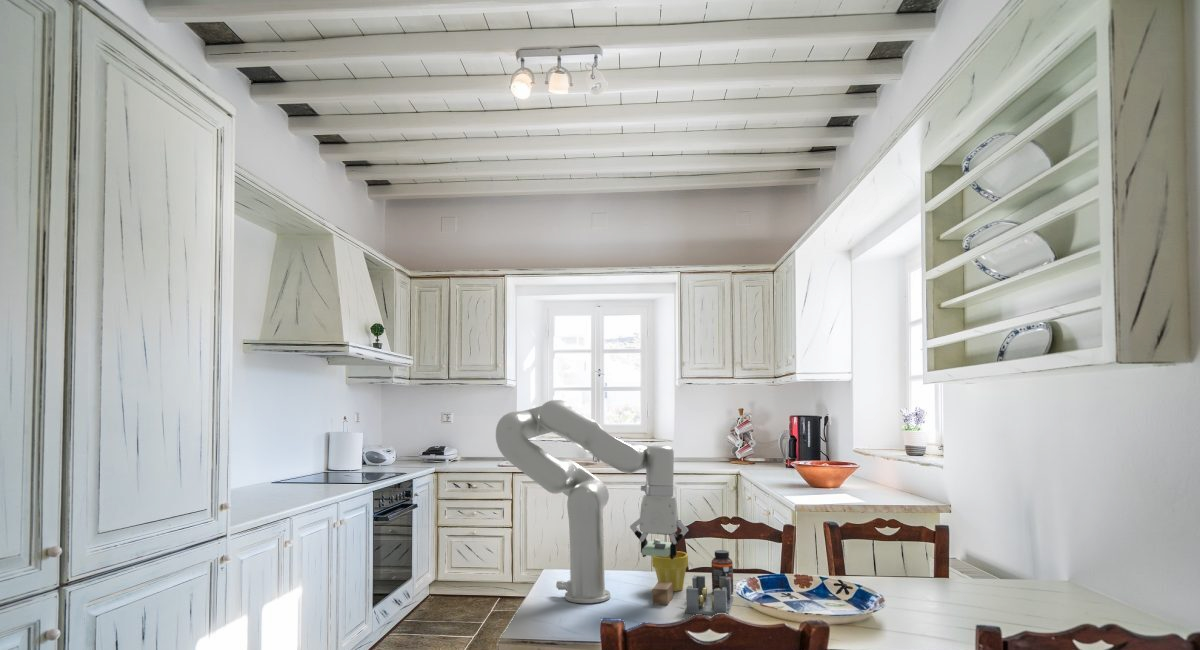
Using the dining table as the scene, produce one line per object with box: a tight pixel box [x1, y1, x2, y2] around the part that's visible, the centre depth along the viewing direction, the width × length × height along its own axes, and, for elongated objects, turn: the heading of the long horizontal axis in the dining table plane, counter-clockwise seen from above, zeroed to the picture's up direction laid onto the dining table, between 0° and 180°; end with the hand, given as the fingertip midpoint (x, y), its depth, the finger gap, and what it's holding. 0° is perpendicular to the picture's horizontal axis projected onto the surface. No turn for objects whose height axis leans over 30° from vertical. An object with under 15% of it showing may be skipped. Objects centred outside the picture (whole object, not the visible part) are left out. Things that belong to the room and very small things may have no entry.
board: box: [641, 538, 672, 557], centre depth 210 cm, size 7×12×2 cm, turn 165°
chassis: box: [684, 575, 734, 616], centre depth 202 cm, size 11×16×6 cm
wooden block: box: [652, 581, 674, 606], centre depth 208 cm, size 4×8×4 cm, turn 165°
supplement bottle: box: [710, 549, 734, 594], centre depth 217 cm, size 6×6×11 cm
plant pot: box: [651, 551, 689, 592], centre depth 221 cm, size 10×10×10 cm
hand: (658, 556), depth 209 cm, fingers closed on board, 7 cm apart
